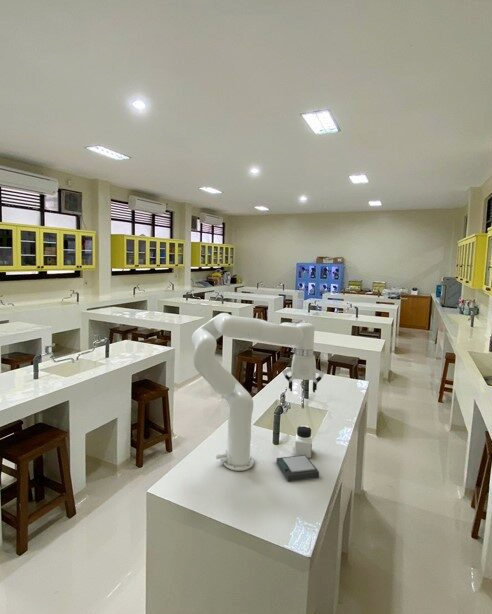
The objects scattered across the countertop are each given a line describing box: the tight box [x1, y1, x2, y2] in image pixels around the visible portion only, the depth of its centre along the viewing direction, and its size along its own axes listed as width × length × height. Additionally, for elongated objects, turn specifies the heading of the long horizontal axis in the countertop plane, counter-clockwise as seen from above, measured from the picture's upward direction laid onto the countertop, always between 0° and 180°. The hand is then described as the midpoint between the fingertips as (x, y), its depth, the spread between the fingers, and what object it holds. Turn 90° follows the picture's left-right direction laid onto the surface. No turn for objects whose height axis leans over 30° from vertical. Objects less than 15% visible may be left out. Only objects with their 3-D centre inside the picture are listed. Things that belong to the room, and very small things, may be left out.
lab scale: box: [275, 455, 320, 482], centre depth 153 cm, size 13×13×3 cm
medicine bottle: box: [294, 425, 313, 459], centre depth 166 cm, size 7×7×12 cm
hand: (302, 390), depth 161 cm, fingers open, 9 cm apart
